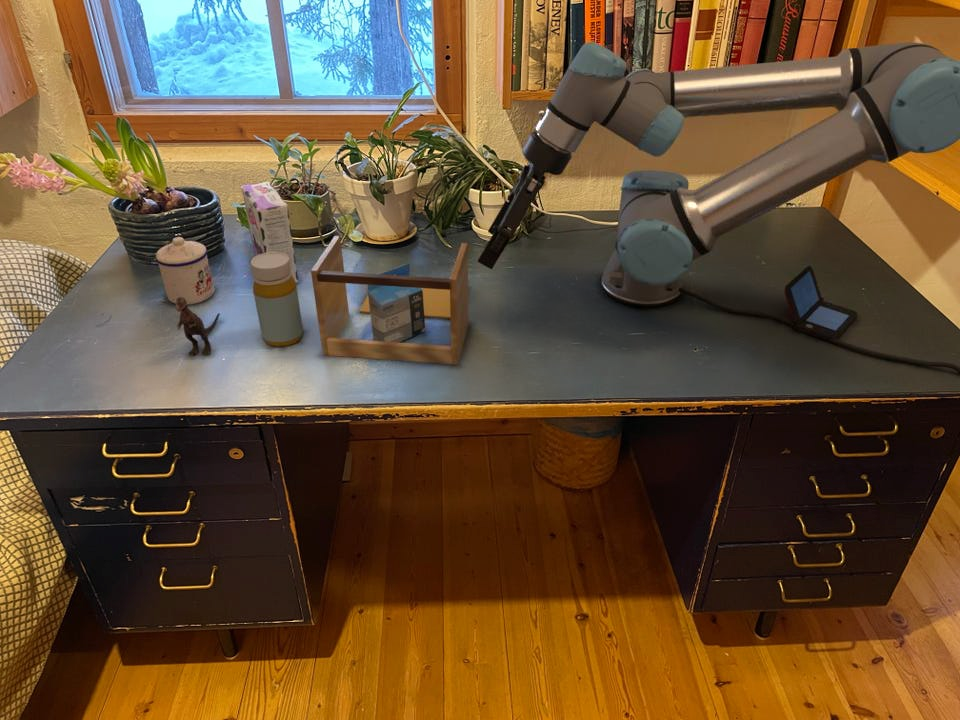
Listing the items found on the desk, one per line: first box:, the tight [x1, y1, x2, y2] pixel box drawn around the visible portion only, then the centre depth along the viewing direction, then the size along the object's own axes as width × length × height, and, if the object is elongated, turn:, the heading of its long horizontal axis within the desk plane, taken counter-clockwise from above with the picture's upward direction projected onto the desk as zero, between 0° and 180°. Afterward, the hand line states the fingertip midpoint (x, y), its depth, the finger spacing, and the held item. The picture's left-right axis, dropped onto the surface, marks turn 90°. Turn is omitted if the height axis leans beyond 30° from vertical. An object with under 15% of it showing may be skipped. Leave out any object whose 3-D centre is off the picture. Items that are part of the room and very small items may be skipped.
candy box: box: [240, 180, 299, 284], centre depth 145 cm, size 14×6×16 cm, turn 27°
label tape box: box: [367, 262, 426, 343], centre depth 126 cm, size 9×4×12 cm, turn 131°
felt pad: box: [359, 288, 451, 320], centre depth 140 cm, size 18×12×1 cm, turn 83°
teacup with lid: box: [155, 236, 215, 306], centre depth 140 cm, size 12×9×12 cm
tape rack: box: [310, 235, 469, 366], centre depth 124 cm, size 23×13×16 cm, turn 83°
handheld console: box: [784, 265, 858, 342], centre depth 132 cm, size 12×11×7 cm
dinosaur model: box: [175, 297, 221, 357], centre depth 125 cm, size 4×12×15 cm
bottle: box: [250, 252, 304, 348], centre depth 125 cm, size 7×7×15 cm
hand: (489, 249), depth 128 cm, fingers open, 13 cm apart
